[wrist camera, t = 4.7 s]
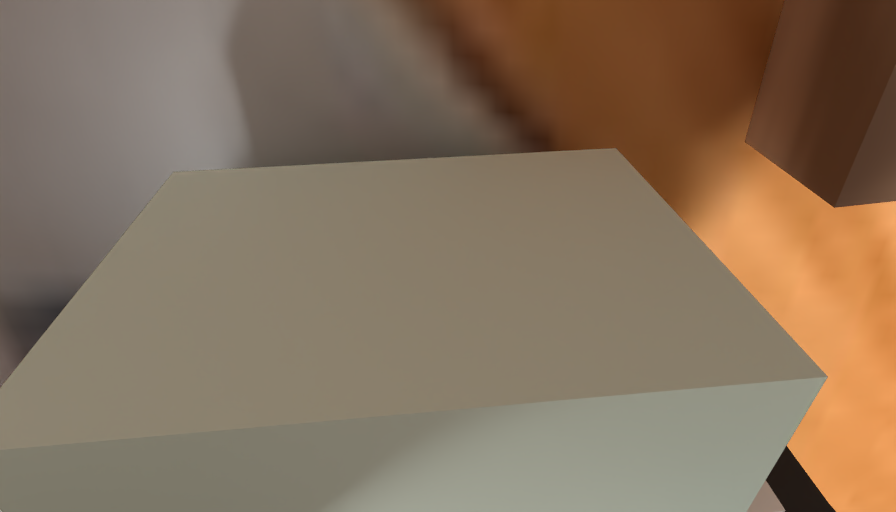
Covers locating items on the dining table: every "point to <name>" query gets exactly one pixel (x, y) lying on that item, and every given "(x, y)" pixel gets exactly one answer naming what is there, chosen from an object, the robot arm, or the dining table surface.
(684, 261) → the sage brick
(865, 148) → the walnut base
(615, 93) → the dining table surface
